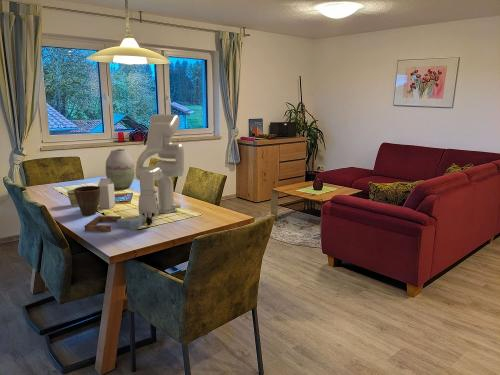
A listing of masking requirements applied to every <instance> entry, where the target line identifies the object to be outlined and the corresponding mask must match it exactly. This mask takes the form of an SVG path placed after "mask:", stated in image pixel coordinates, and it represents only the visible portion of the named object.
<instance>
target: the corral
mask: <svg viewBox="0 0 500 375" xmlns="http://www.w3.org/2000/svg"><path fill="white" fill-rule="evenodd" d="M119 218H122V216H121V215H97V216H96V217H94V218H93V219H92V220H91V221H89V222H88V223H86V224H84V225H83V226H84V232H108V233H110V232H112V227H111V225H110V224H108V225H104V224H100V223H103V222H104V223H106V222H107V223H111V222H112V223H117V220H118V219H119ZM98 224H100V225H98Z"/></svg>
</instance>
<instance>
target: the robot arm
mask: <svg viewBox="0 0 500 375" xmlns="http://www.w3.org/2000/svg"><path fill="white" fill-rule="evenodd" d="M149 122H150V123H149V125H148V128H147V129H148V131H147V139H146V148H145V149H144V150H142V152H141V153H140V155H139V156H138V158H137V161H136V164H135V165H136V166H135V177H136V179H137V180H139V189H140V194H139V196H138V205H137V206H138V215H141V216H142V217H143V218H145V223H146V226H152V224H153V217H154V216H157V215H159V213H161V214H171V213H174V212H176V211H177V209H181V207H182V206H181V205H180V204H176V202H175V201H174V200H175V198H174V195H175V193H174V182H173V180H172V177H176V178H177V177H182V176H183V175H184V173H185V150H184V149H185V148H184V147H183V145H182V144H181V143H177V142H176V143H173V142H172V138H173V137H174V136H175V135H176V132H177V131H178V128H179V126H180V123H181V122H180V117H179V115H178V114H173V113H172V114H170V113H168V114H165V113H162V114H161V113H159V114H157V113H156V114H152V115H151V116H150V118H149ZM156 154H157V156H158V158H160V159H164V160H160V161H158V162H156V163H155V166H144V164H145V161H146V160H148V159H149V158H151V157H152V156H155V155H156ZM167 159H168V160H167ZM169 159H170V160H169ZM172 159H173V160H172ZM174 159H175V160H174ZM155 181H157V190H156V189H155Z"/></svg>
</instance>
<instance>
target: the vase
mask: <svg viewBox="0 0 500 375" xmlns="http://www.w3.org/2000/svg"><path fill="white" fill-rule="evenodd" d="M105 175H106V176H105V177H106V178H108V179H111V181H112V182H113V183H114V190H117V191H119V190H128V189H130V187H131V186H132V185H133V182H134V179H135V164H134V160H133V158H132V156H131V155H130V153H129V152H128V151H127V149H126V148H114V149H111V150H110V153H109V155H108V157H107V158H106V161H105Z"/></svg>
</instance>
